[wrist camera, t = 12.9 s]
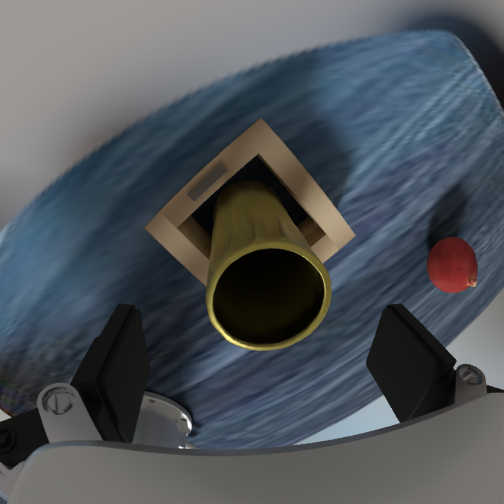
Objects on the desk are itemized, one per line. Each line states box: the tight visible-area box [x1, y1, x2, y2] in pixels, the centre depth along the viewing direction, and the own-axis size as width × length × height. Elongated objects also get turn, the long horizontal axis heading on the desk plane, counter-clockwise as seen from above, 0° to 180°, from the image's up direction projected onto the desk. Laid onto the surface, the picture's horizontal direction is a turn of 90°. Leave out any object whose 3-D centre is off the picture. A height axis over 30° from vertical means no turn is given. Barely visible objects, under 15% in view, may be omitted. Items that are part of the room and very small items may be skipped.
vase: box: [206, 180, 332, 351], centre depth 18 cm, size 6×6×14 cm
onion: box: [427, 237, 478, 293], centre depth 24 cm, size 6×6×8 cm
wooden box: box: [144, 118, 355, 286], centre depth 22 cm, size 11×11×5 cm
